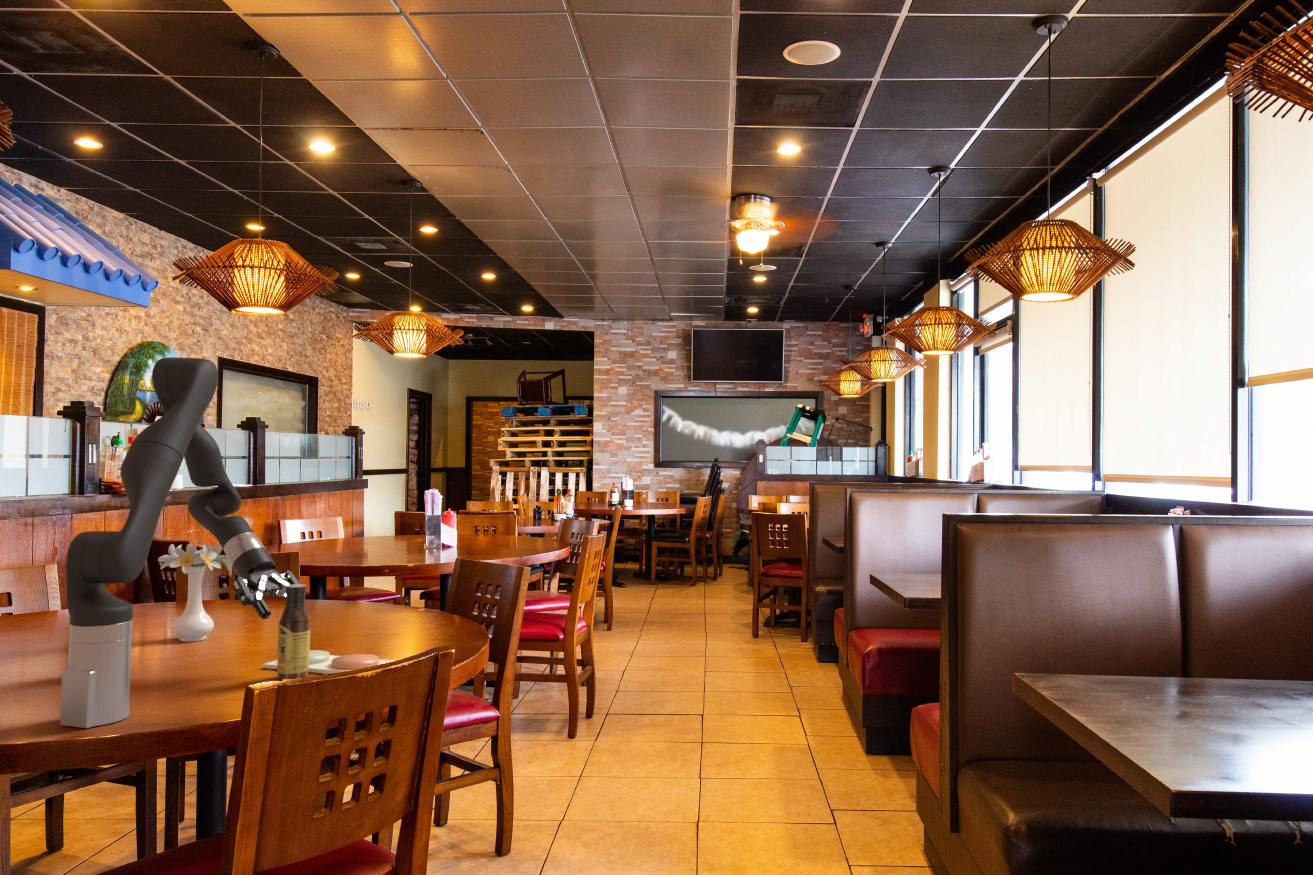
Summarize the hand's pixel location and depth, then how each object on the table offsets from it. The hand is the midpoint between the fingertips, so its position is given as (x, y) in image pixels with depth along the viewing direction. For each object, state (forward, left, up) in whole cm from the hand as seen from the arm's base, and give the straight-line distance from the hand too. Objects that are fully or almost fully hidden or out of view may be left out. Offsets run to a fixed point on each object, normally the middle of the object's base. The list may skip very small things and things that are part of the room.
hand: (284, 613), depth 174 cm
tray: (+10, -4, -13) cm, 18 cm away
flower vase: (+25, +48, -14) cm, 56 cm away
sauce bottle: (-1, -3, -14) cm, 14 cm away
